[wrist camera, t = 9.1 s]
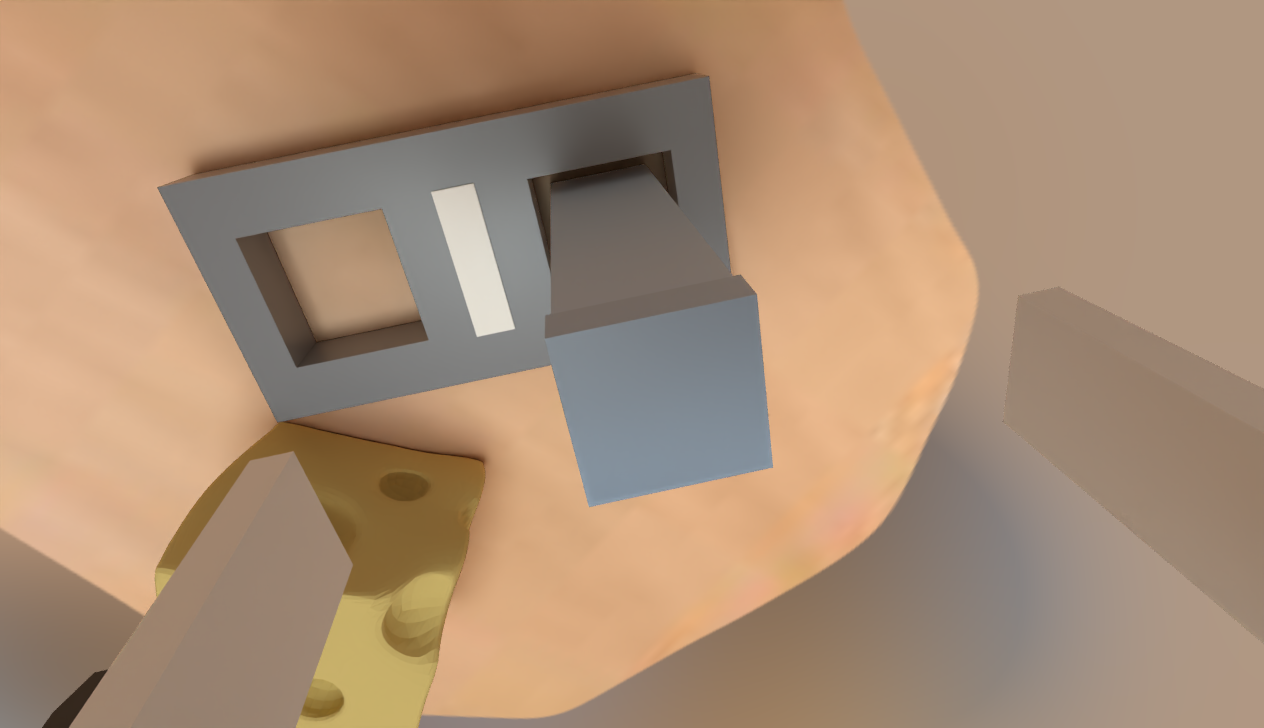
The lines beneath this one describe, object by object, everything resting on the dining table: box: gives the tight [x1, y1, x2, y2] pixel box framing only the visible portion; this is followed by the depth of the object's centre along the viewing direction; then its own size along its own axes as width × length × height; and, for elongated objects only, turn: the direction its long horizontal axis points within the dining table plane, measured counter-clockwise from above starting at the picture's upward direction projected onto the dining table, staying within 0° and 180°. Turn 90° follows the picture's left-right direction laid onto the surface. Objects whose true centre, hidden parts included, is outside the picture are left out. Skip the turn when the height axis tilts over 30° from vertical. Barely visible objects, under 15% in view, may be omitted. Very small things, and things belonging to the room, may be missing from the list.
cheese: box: [155, 422, 485, 728], centre depth 29 cm, size 10×11×10 cm
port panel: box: [157, 73, 731, 423], centre depth 26 cm, size 10×20×3 cm, turn 100°
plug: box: [545, 164, 773, 507], centre depth 21 cm, size 4×4×16 cm
